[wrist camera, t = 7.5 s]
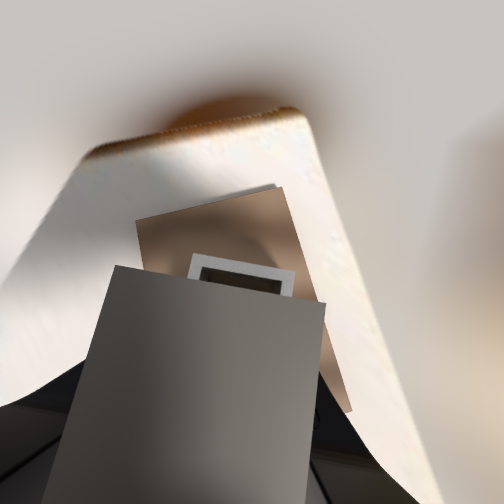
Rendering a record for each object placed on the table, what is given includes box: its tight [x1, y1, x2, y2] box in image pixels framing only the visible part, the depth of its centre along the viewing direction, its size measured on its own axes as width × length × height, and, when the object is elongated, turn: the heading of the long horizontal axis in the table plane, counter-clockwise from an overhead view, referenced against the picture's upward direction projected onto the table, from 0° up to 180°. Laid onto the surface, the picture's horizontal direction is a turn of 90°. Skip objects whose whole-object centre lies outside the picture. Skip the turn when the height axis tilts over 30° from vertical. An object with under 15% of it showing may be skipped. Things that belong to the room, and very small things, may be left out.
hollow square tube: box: [187, 253, 295, 297], centre depth 15 cm, size 7×7×4 cm
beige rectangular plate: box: [136, 187, 352, 413], centre depth 18 cm, size 20×14×1 cm
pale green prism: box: [41, 265, 326, 504], centre depth 9 cm, size 4×4×13 cm
